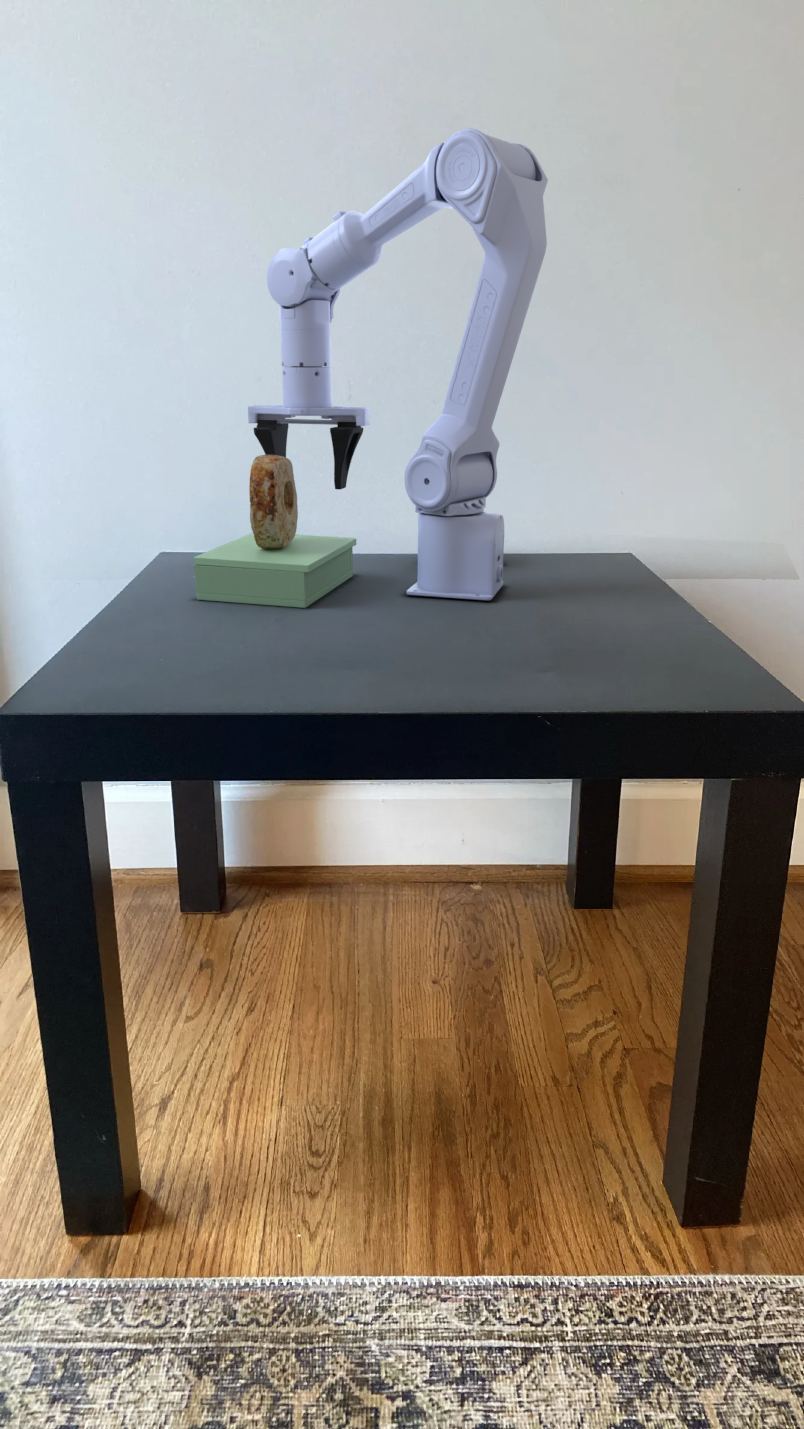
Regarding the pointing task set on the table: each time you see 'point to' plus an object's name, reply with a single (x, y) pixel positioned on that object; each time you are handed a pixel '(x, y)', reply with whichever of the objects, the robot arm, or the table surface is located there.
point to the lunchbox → (272, 583)
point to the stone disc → (273, 501)
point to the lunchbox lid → (277, 553)
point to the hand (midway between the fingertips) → (310, 487)
